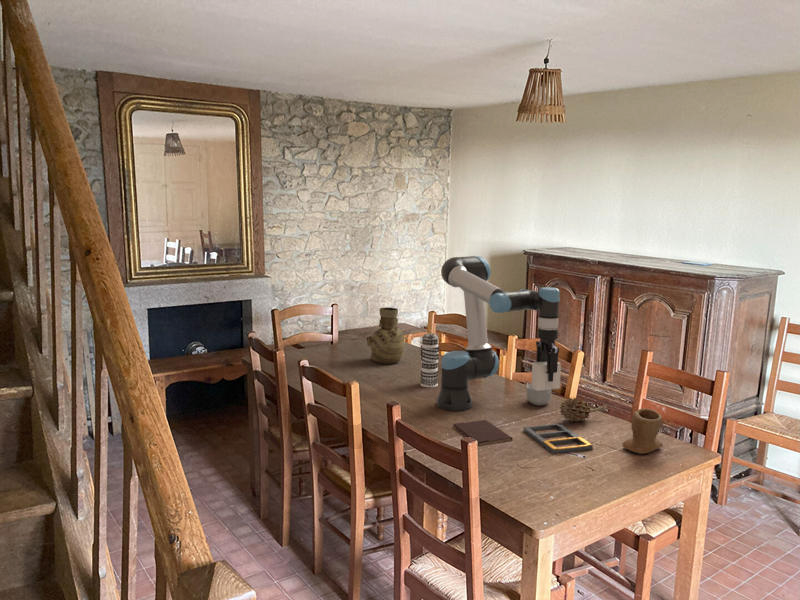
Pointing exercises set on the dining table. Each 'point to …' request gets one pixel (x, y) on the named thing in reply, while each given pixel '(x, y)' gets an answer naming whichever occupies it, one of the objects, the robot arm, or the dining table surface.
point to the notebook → (482, 432)
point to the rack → (550, 443)
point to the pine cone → (577, 409)
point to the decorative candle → (429, 360)
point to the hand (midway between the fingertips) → (545, 387)
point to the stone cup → (644, 431)
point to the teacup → (538, 395)
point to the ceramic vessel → (387, 338)
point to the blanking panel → (544, 376)
